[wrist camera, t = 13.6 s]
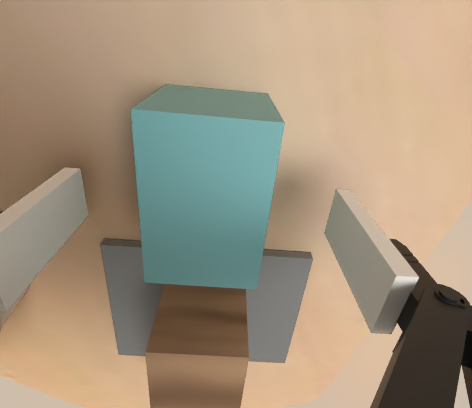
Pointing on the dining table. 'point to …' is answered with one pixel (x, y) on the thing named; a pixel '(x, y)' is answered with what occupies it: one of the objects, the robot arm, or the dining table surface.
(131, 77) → the dining table surface
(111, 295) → the mat
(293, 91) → the dining table surface
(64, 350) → the dining table surface
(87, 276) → the dining table surface
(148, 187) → the teal brick
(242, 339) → the walnut brick
